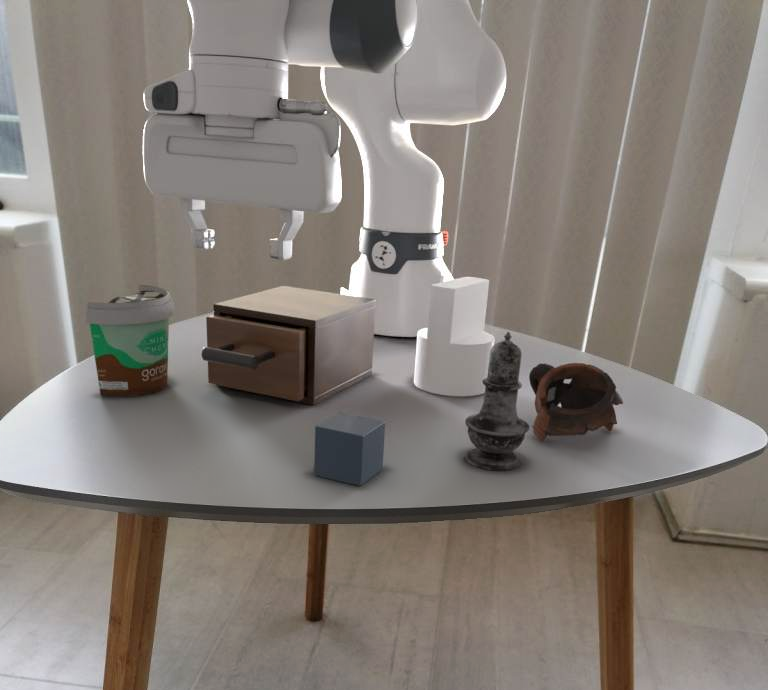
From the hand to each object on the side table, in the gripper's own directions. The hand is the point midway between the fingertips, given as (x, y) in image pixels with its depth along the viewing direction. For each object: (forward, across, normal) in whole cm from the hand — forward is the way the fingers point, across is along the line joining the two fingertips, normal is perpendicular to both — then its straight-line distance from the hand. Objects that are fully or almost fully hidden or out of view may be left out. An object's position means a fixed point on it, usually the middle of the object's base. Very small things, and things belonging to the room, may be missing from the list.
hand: (241, 253), depth 82 cm
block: (+15, -18, +11) cm, 26 cm away
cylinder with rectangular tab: (+15, -16, -20) cm, 30 cm away
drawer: (+15, 0, -6) cm, 16 cm away
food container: (+16, +12, +1) cm, 20 cm away
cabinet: (+15, 0, -11) cm, 19 cm away
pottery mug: (+16, -32, -11) cm, 37 cm away
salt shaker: (+16, -28, +1) cm, 32 cm away
